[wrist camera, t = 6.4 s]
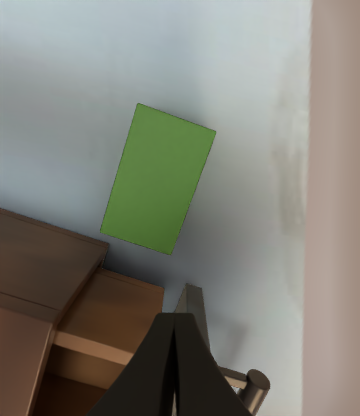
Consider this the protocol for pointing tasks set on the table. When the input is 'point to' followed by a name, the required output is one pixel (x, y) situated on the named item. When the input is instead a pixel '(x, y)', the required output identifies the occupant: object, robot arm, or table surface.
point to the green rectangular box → (156, 179)
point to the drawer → (117, 344)
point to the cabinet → (36, 299)
